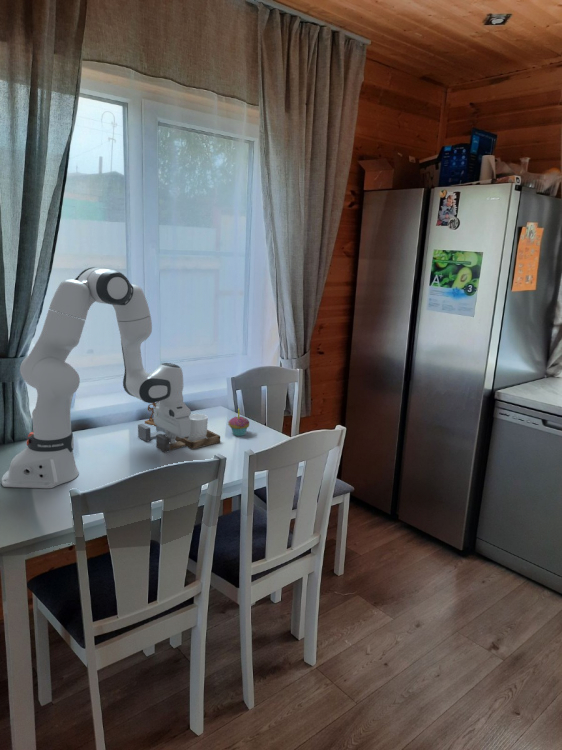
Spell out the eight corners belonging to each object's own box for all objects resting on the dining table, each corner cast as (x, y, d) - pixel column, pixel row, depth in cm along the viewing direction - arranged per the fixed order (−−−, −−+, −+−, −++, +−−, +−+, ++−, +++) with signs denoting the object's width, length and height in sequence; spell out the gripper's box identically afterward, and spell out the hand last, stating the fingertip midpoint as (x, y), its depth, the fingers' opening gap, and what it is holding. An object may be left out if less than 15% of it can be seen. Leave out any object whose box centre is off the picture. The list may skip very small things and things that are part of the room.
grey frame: (149, 443, 209) (149, 431, 208) (134, 434, 217) (134, 422, 216) (199, 431, 223) (199, 420, 222) (183, 424, 232) (183, 412, 231)
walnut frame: (169, 454, 199) (168, 441, 198) (152, 445, 207) (152, 432, 206) (220, 442, 213) (220, 429, 212) (202, 433, 222) (202, 421, 221)
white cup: (197, 446, 208) (197, 421, 206) (182, 441, 213) (182, 416, 210) (211, 441, 214) (212, 416, 212) (197, 436, 219) (197, 412, 217)
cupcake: (248, 438, 220) (249, 409, 217) (226, 437, 220) (227, 408, 217) (249, 430, 228) (250, 403, 225) (229, 429, 228) (229, 402, 225)
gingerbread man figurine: (144, 423, 232) (143, 395, 229) (150, 421, 235) (150, 393, 232) (160, 427, 227) (159, 399, 224) (166, 425, 231) (166, 397, 228)
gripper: (149, 401, 208) (149, 436, 211) (178, 415, 193) (178, 452, 196) (164, 398, 212) (164, 432, 215) (193, 412, 197) (193, 448, 200)
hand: (171, 442), depth 205 cm, fingers closed
